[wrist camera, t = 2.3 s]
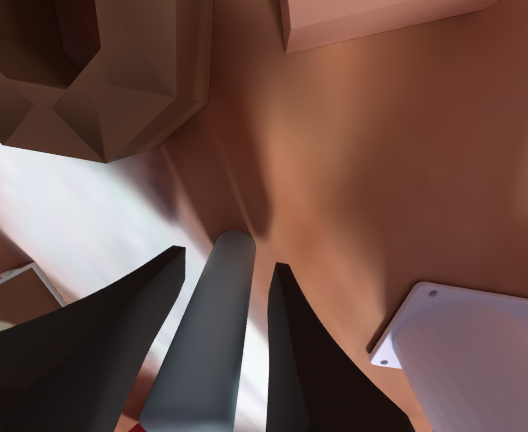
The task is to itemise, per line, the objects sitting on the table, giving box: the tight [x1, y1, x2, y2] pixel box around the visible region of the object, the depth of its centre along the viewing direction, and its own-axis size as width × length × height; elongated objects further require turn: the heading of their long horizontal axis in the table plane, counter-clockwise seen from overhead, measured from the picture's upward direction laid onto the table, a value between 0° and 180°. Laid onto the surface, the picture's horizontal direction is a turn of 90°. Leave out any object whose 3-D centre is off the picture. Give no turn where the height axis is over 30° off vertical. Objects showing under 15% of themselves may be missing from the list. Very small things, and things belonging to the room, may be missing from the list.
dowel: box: [139, 230, 256, 432], centre depth 9 cm, size 2×2×8 cm
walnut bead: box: [0, 0, 214, 163], centre depth 7 cm, size 8×8×4 cm
